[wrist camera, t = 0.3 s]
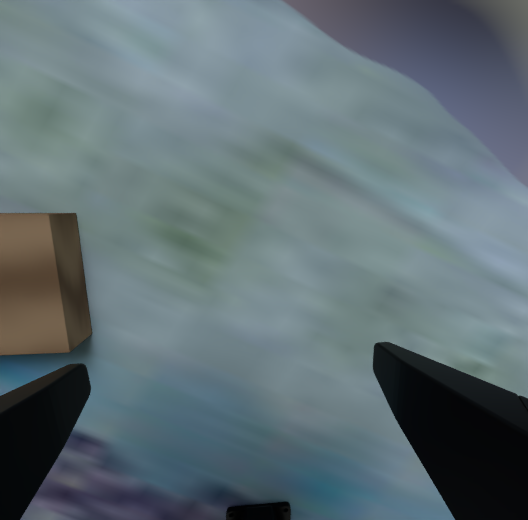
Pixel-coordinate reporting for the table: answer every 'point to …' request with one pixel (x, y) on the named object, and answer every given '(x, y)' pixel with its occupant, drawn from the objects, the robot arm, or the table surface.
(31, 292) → the walnut plinth
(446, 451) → the robot arm
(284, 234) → the table surface
